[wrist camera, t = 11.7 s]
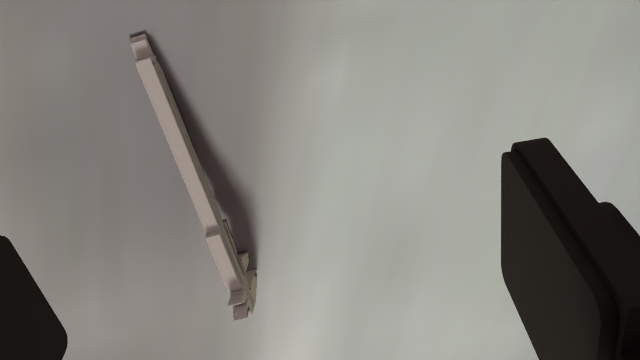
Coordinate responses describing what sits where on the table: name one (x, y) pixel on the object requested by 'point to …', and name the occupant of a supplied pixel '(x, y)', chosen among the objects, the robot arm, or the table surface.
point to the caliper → (197, 183)
